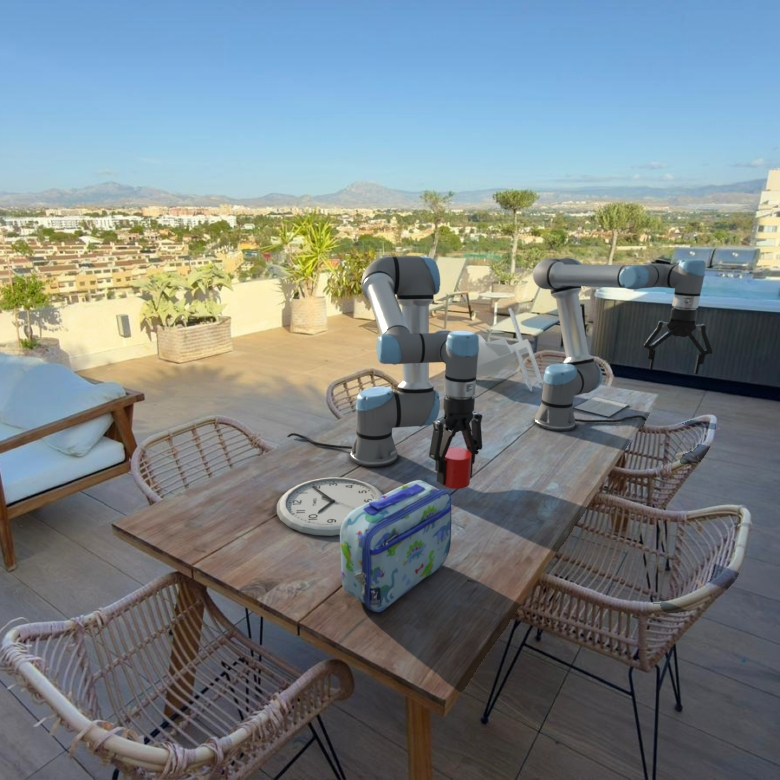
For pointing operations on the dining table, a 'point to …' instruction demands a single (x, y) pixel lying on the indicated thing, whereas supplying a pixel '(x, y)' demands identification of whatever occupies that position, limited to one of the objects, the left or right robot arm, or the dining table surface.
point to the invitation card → (601, 406)
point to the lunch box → (394, 543)
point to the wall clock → (323, 504)
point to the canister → (458, 468)
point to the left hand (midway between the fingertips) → (454, 479)
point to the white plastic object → (505, 355)
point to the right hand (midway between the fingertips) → (673, 371)
